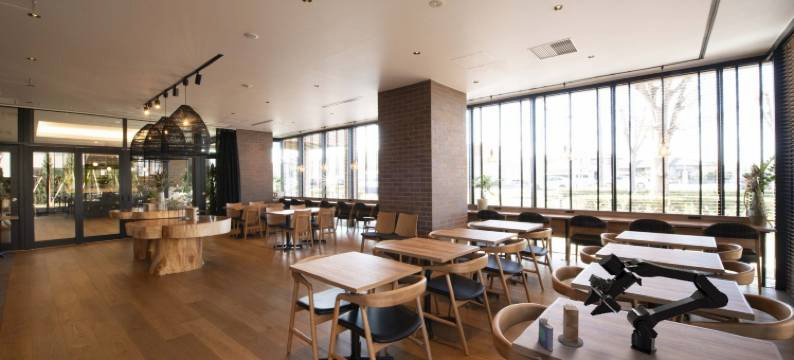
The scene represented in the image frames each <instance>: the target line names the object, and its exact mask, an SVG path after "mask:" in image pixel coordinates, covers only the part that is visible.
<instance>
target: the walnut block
mask: <svg viewBox="0 0 794 360" xmlns="http://www.w3.org/2000/svg"><path fill="white" fill-rule="evenodd" d="M572 305H573V304H572ZM572 305H565V304H563V306H562V307H563V314H562V316H563V319H562V320H563V323H562V325H563V326H562V330H563V331H562V334H563V337H564V339H565V341H566V342H573V343H578V337H579V321H580V320H579V318H580V317H579V309H578V306H576V305H573V306H572Z"/></svg>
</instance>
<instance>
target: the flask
mask: <svg viewBox="0 0 794 360" xmlns="http://www.w3.org/2000/svg"><path fill="white" fill-rule="evenodd" d="M548 321H549V318H545V317H540V318H539V319H538V343H539V344H540V346H542V347H543V348H544V350H546V351H548V352H553V351H554V327H553V325H550V324H549V322H548Z"/></svg>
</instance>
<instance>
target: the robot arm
mask: <svg viewBox="0 0 794 360" xmlns="http://www.w3.org/2000/svg"><path fill="white" fill-rule="evenodd" d="M598 265H599V266H600V267H601V268H602V269H603V270H604V271H606V273H608V275H609V276H614V277H612V278H610V277H609V278H607V279H605V278H603V277H601V276H598V275H596V274H594V273H592V274H591V275H590V277H589V278H588V282H589V285H590V286H589V289H590V290H589V294H588V295H587V298H586V299H585V301H584V303H583V305H584V307H588V306H590V305H593V304H596V303H597V302H598V304H597V305H596V306H595V307H594V309H592V310H591V312H590V316H592V317H594V316H598V315H604V314H610V313H613V314H615V312H616V314H618V313H619V312H621V311H622V305H620V303H618V302H617V301H618V300H617V298H618V297H620V295H623V296H624V295H626V294H627V293H626V291H627V290H628V289H629V288H631V287H632V286H633V285H635V284H637V285H638V286H640V287H642V286H643V283H642V280H643V278H656V277H660V278H667V279H671V280H672V279H673V280H678V281H683V282H687V283H688V282H691V283H692V284H693V285H694V287H695V291H694V292H693V293H692V294H691V295H690V296H688V297H687V296H686V297H684V298H681V299H679V300H675V301H673V302H669V303H666V304H663V305H660V306H657V307H653V308H646V307H644V306H643V305H640V306H638V307H635V308H630V309H631V310H630V311H629V310H628V312H627V315H626V320H627V322H628V323H629V324H630V325H631V326H632V328H633V330H632V333H631V335H630V337H631V338H630V339H631V340H630V342H631V343H630V344H631V345H630V348H632V349H634V350H636V351H640V352H642V353H644V354H647V355H651V354H653V353H654V352H656V351H657V347H655V345H656V344H655V343H656V339H657V337H658V335H659V333H658V332H657V331H656V330H655V329H654V328H655V327H656V326H657V325H658V324H659V323H660V322H663V321H666V320H669V319H674V318H676V317H679V316H683V315H684V314H688V313H691V312H695V311H699V310H715V309H722V308H726V307H727V306H728V303H729V297H728V295H727V294H726V293H724V292H723V291H721V290H720V289H719V288H718V287H717V286H715V285H714V284H713V282H711V280H710V279H708V277H707V276H706V275H705V274H704V273H702V272H700V271H698V270H692V269H684V268H681V267H679V268H678V267H673V266H668V265H661V264H657V263H654V262H651V261H649V260H646V259H643V258H639V257H634V258H632V259H630V260H621V259H619V258H618V256H617V255H616V254H615V253H614V252H611V253H610V254H607V255H605V256H603V257H601V258H600V259H599V261H598ZM627 270H628V271H627ZM636 275H637V276H636Z"/></svg>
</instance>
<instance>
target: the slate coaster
mask: <svg viewBox="0 0 794 360" xmlns="http://www.w3.org/2000/svg"><path fill="white" fill-rule="evenodd" d="M557 340H558V342H560V343H561V344H563V345H564V346H568V347H571V348H572V347H573V348H579V347H582V346H583V345H584V341H583V339H582V338H580V337H579V336H578V343H573V342H566V341H565V339H564V337H563V333H562V334H559V335H558V337H557Z"/></svg>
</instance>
